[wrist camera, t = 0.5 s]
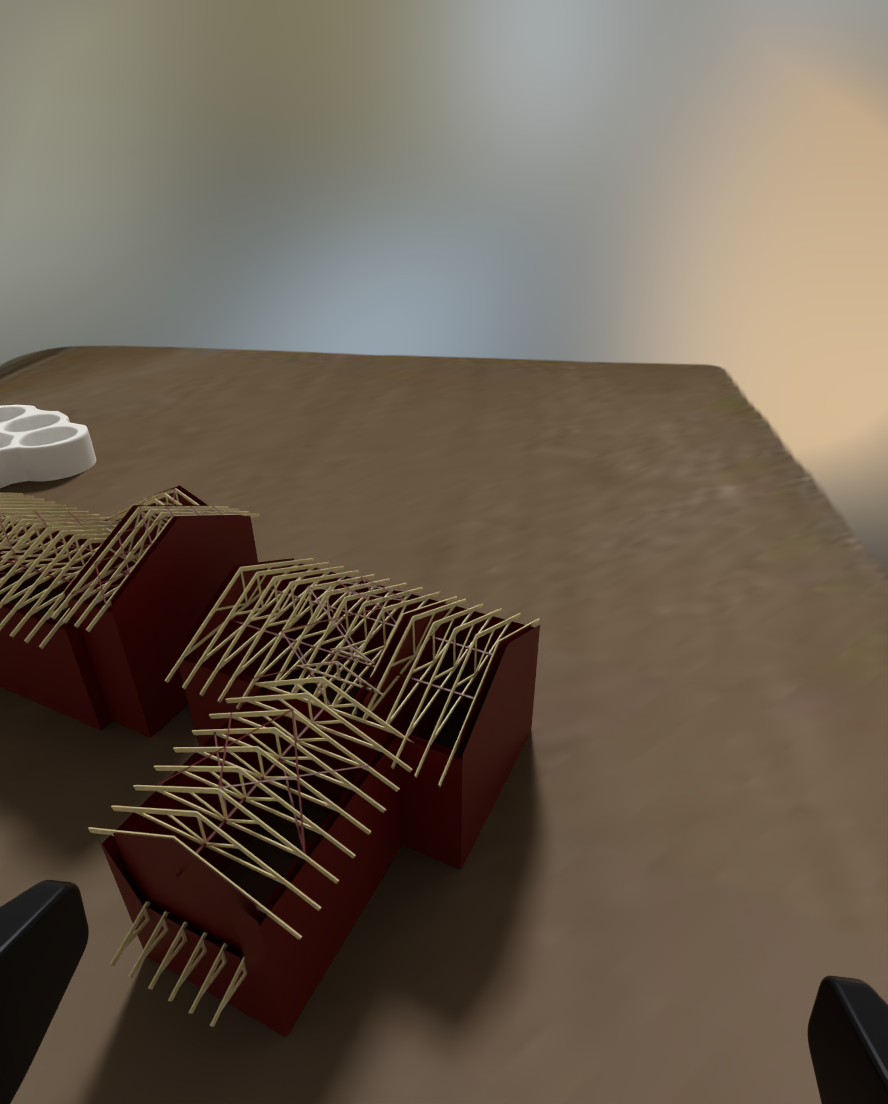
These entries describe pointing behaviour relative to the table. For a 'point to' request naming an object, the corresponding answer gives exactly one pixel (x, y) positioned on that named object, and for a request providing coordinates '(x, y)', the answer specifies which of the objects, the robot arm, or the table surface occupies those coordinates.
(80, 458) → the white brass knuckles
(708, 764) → the table surface
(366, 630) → the toy houses
